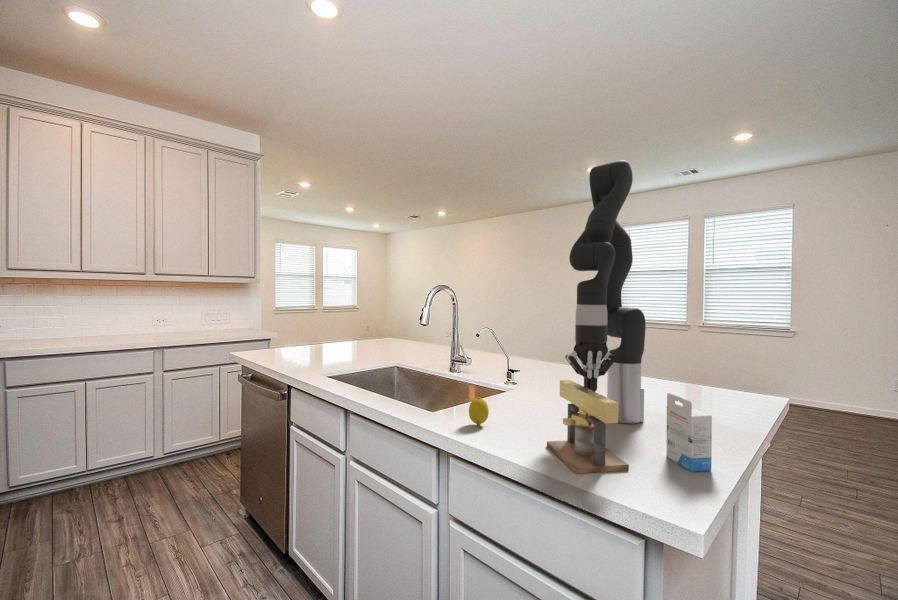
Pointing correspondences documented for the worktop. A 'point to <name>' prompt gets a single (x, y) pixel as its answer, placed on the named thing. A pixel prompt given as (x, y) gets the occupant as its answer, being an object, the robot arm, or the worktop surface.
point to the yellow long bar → (587, 405)
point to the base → (585, 460)
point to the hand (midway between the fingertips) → (590, 392)
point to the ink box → (688, 435)
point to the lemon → (478, 411)
